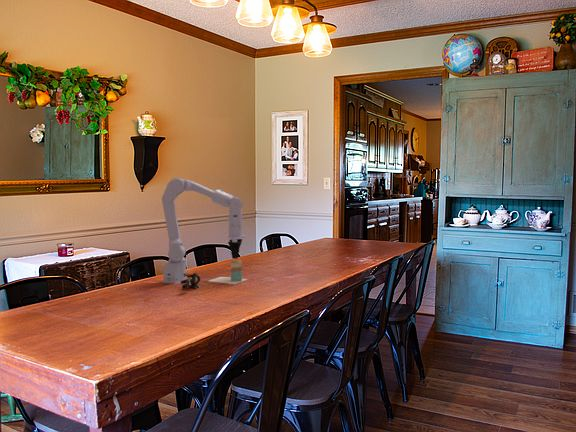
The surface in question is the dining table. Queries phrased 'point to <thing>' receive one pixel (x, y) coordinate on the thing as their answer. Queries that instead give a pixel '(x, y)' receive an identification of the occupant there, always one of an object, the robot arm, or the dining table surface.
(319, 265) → the dining table surface
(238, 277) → the teal block
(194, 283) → the toy
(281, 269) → the dining table surface
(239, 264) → the maple block
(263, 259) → the dining table surface
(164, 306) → the dining table surface
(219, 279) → the plate
